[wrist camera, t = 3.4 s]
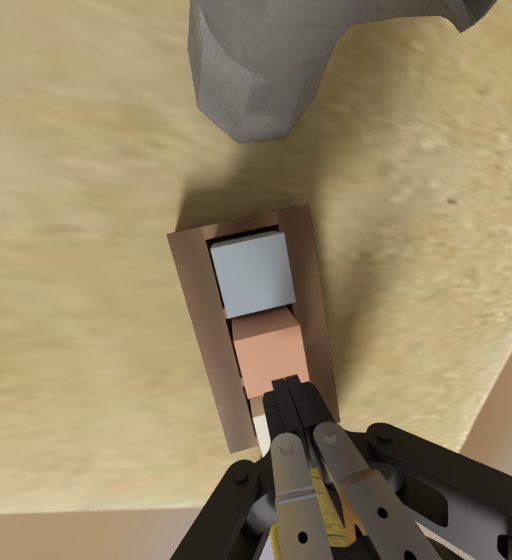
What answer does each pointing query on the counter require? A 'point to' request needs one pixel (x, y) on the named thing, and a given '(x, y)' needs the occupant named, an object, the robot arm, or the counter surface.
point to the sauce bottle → (328, 515)
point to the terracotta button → (268, 348)
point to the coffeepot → (283, 53)
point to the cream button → (260, 423)
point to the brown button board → (215, 325)
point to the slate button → (253, 272)
